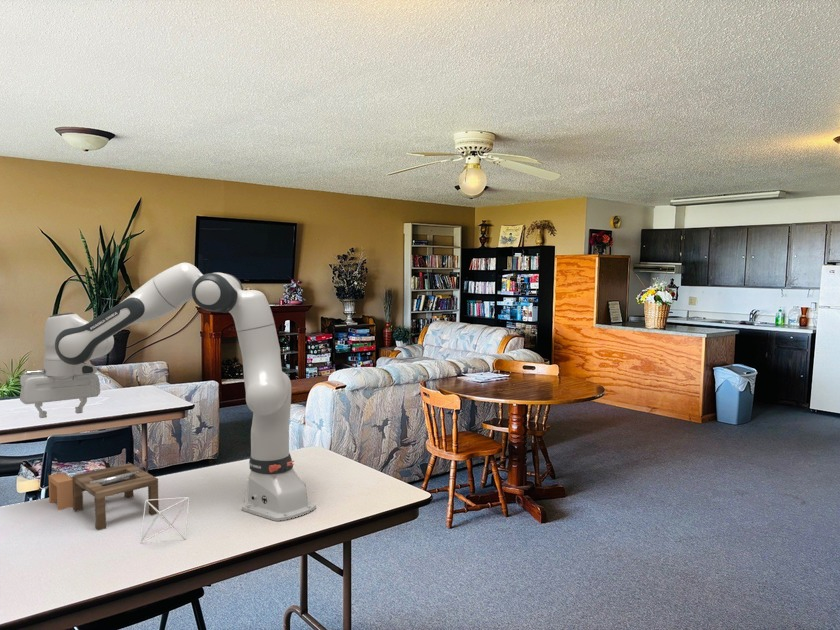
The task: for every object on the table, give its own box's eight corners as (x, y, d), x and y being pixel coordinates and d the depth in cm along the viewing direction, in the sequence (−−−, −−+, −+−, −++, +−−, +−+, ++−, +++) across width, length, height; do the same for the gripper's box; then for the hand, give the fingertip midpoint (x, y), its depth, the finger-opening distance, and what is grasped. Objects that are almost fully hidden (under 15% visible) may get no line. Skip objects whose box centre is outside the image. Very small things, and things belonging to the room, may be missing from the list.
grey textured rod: (139, 476, 174) (139, 471, 174) (91, 488, 165) (91, 482, 165) (137, 475, 176) (137, 470, 175) (89, 486, 166) (89, 481, 166)
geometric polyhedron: (199, 531, 158) (199, 498, 158) (170, 549, 148) (169, 513, 147) (161, 525, 162) (161, 492, 162) (130, 541, 152) (129, 506, 151)
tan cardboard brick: (74, 506, 174) (73, 479, 174) (58, 510, 171) (58, 482, 171) (64, 498, 180) (63, 472, 180) (49, 501, 178) (48, 475, 177)
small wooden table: (158, 513, 170) (158, 478, 169) (98, 530, 158) (97, 493, 158) (131, 495, 183) (130, 463, 183) (73, 509, 172) (72, 475, 171)
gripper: (23, 373, 164) (23, 422, 165) (102, 367, 179) (102, 412, 180) (16, 369, 168) (16, 418, 169) (94, 364, 183) (94, 408, 184)
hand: (61, 415), depth 175 cm, fingers open, 8 cm apart
